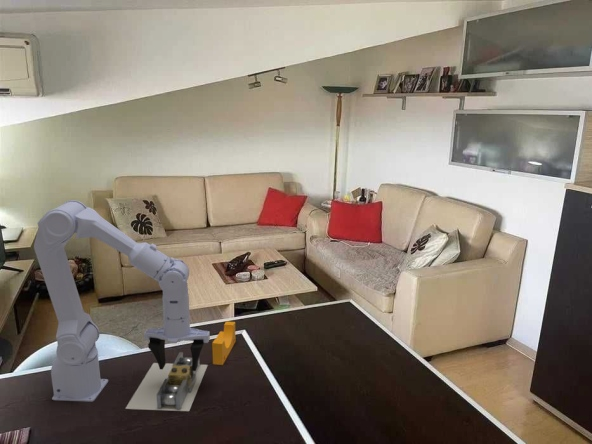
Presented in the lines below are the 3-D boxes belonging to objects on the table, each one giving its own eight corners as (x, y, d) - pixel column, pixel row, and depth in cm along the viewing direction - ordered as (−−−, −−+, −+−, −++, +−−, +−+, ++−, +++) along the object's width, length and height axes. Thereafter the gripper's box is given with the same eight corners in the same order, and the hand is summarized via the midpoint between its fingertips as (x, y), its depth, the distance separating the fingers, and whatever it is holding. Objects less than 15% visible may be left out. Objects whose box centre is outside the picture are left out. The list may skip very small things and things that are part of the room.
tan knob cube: (174, 380, 109) (173, 364, 108) (190, 380, 109) (190, 364, 108) (169, 390, 105) (168, 373, 104) (186, 390, 105) (185, 374, 104)
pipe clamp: (220, 341, 128) (220, 320, 126) (235, 343, 127) (235, 322, 126) (206, 365, 116) (205, 342, 115) (222, 366, 116) (222, 343, 114)
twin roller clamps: (154, 408, 98) (153, 394, 98) (177, 364, 115) (176, 352, 115) (183, 410, 98) (182, 396, 97) (202, 365, 115) (201, 352, 114)
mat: (125, 409, 98) (125, 408, 98) (153, 364, 116) (153, 362, 116) (189, 412, 98) (189, 411, 98) (207, 365, 115) (207, 364, 115)
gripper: (138, 321, 99) (141, 376, 102) (204, 323, 98) (205, 379, 102) (149, 307, 105) (152, 359, 109) (211, 309, 105) (212, 361, 108)
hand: (178, 367), depth 106 cm, fingers open, 7 cm apart
